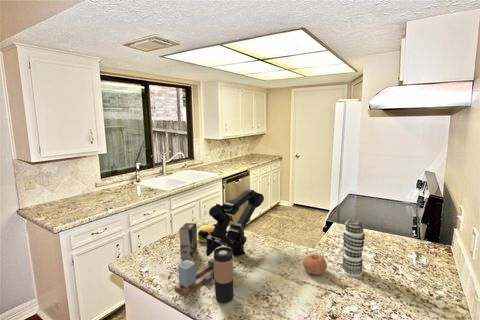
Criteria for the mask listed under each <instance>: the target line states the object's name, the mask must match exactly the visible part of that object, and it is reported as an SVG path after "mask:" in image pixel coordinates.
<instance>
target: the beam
mask: <svg viewBox="0 0 480 320" xmlns="http://www.w3.org/2000/svg"><path fill="white" fill-rule="evenodd" d="M195 276H196V282H195V283H194V284H192V285H191V286H190V287H188V288H184V287H183V286H182V285H180V284H179V282H178V283H176V284H175V285H174V290H175V291H176V292H178V293H180V294H183V295H184V296H188V295H189V294H190V293H191V292H193V291H194V290H196V289H197V288H198V287H200V286H201V285H203V284H206V285H209V284H211V283H212V282H213V277H214V257H213V258H210V259H209V260H207V264H206V265H204V266H202V267H200V269H198V270H196V271H195Z"/></svg>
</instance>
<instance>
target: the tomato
mask: <svg viewBox="0 0 480 320" xmlns="http://www.w3.org/2000/svg"><path fill="white" fill-rule="evenodd" d="M302 264H303V268H304V269H305V271H306V272H307V273H309V274H311V275H315V276H320V275H323V274H324V273H325V272H326V270H327V268H328V264H327V261H326V259H325V258H324V257H323V256H321V255H319V254H314V253H312V254H309V255H306V256H305V257H304V259H303V261H302Z"/></svg>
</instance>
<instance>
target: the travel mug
mask: <svg viewBox="0 0 480 320" xmlns="http://www.w3.org/2000/svg"><path fill="white" fill-rule="evenodd" d="M233 257H234V255H233V252H232V249H230V248H229V247H227V246H222V247H218V248H216V249H215V250H214V251H213V259H214V276H213V277H214V293H215V294H214V295H215V300H216V301H217V302H218V303H220V304H228V303H230V302H231V301H233V299H234V259H233Z"/></svg>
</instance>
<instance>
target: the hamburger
mask: <svg viewBox="0 0 480 320" xmlns="http://www.w3.org/2000/svg"><path fill="white" fill-rule="evenodd" d="M214 227H215V226H214V225H211V224H203V225H201V226H200V227H198V229H197V241H199V242H201V243H203V244H204V243H206V244H207V240H206V239H203V238H202V237H201V236H199V235H198V233H199V231H200V230H204V231H207V232H208V233H209V234H210V232H213V229H214ZM210 235H211V234H210Z"/></svg>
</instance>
